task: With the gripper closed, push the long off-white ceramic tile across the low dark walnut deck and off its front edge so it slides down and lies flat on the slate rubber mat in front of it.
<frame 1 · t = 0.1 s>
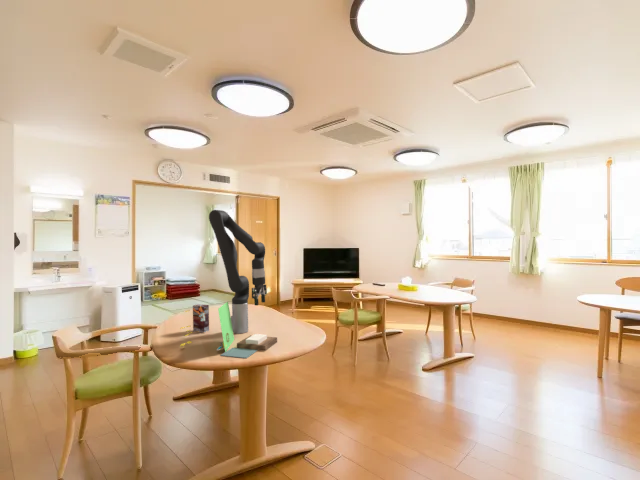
hand: (260, 303, 194), 17 cm above the table, tool pointing down, fingers open, 8 cm apart
deck: (257, 345, 173), on the table
mat: (239, 353, 161), on the table
tile: (256, 340, 172), point 2 cm above the table, touching deck
supplement box: (201, 331, 201), on the table
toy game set: (206, 346, 172), on the table, touching mat
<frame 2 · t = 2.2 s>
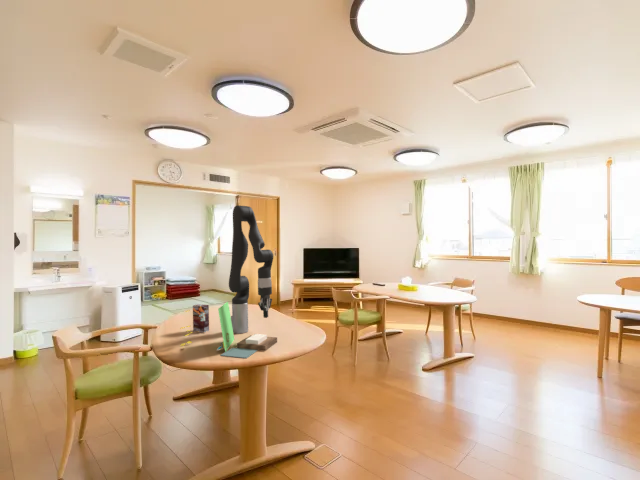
hand: (265, 317, 182), 12 cm above the table, tool pointing down, fingers closed
nothing on the table moved.
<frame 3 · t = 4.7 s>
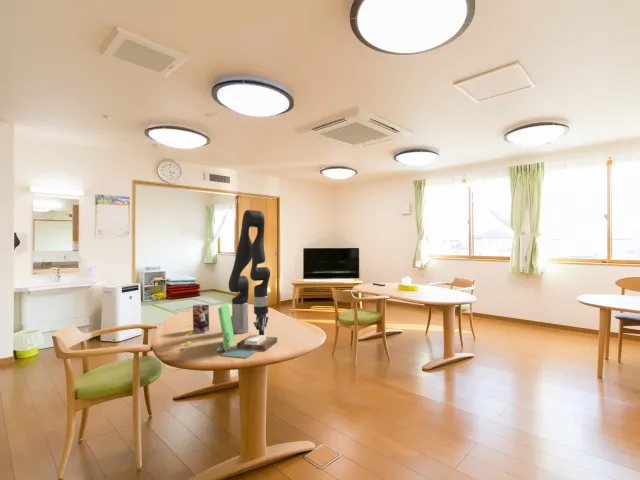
hand: (261, 336, 177), 3 cm above the table, tool pointing down, fingers closed
tile: (255, 341, 171), point 2 cm above the table, touching deck
everything else where it was.
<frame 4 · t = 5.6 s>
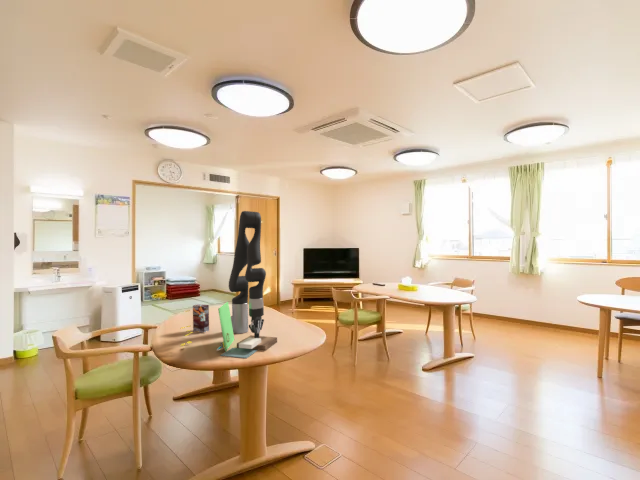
hand: (256, 339, 172), 3 cm above the table, tool pointing down, fingers closed
tile: (250, 345, 165), point 2 cm above the table, touching deck
everything else where it was.
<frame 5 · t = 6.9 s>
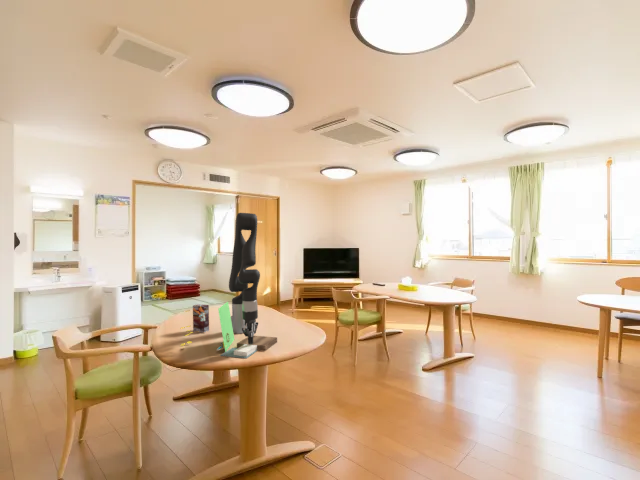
hand: (250, 343, 166), 3 cm above the table, tool pointing down, fingers closed
tile: (245, 352, 161), resting on mat
everything else where it was.
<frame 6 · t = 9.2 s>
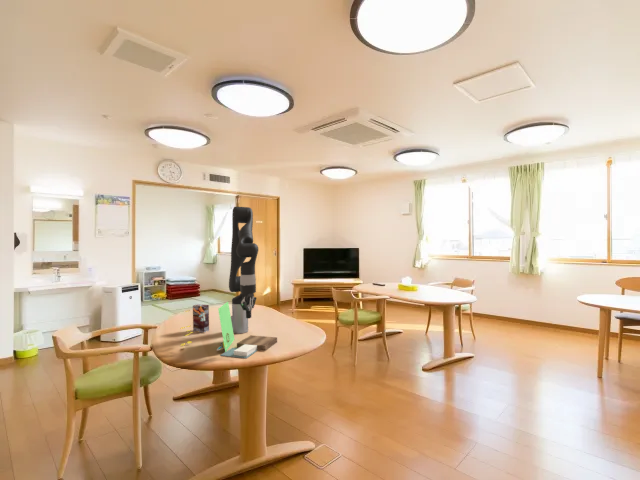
hand: (248, 318, 165), 16 cm above the table, tool pointing down, fingers closed
nothing on the table moved.
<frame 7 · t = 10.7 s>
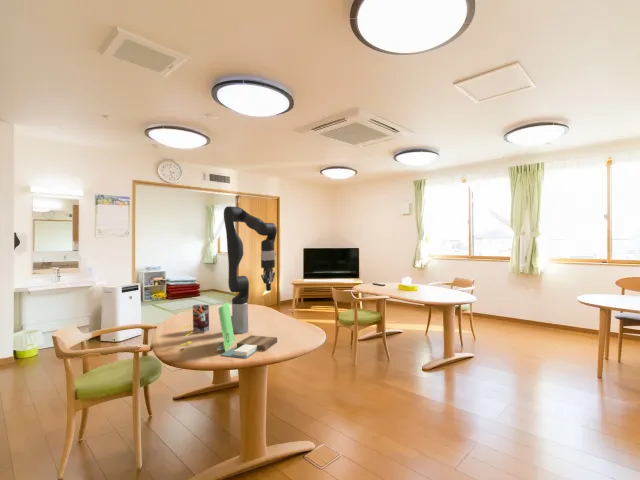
hand: (268, 290, 182), 27 cm above the table, tool pointing down, fingers closed
nothing on the table moved.
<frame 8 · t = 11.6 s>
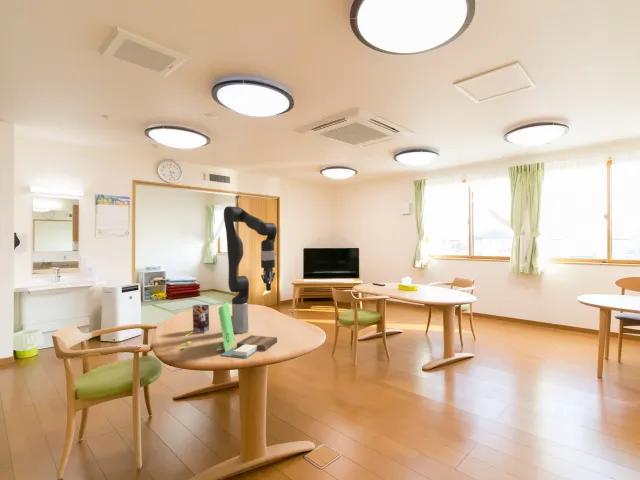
hand: (268, 290, 182), 27 cm above the table, tool pointing down, fingers closed
nothing on the table moved.
at the end: tile inside the target area (2.4 cm from its centre), resting on mat; tile tilted 0°; the gripper is holding nothing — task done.
